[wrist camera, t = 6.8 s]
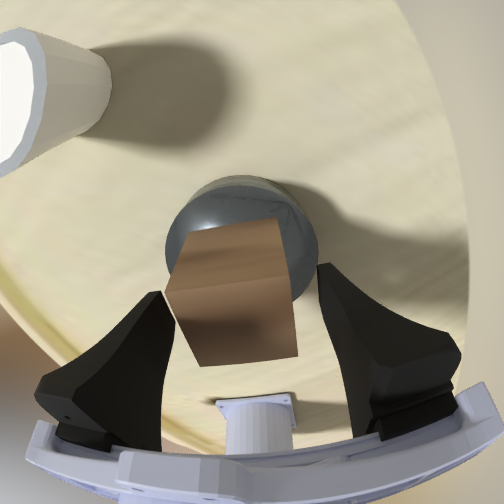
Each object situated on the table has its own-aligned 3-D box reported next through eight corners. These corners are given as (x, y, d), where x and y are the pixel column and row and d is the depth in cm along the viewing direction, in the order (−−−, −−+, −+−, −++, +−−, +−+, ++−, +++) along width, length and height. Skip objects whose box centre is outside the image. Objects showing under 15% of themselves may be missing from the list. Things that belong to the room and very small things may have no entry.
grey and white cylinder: (105, 21, 10) (32, -4, 4) (136, 113, 13) (65, 128, 7) (28, 80, 11) (-48, 92, 5) (55, 162, 14) (-17, 202, 8)
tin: (310, 280, 19) (318, 309, 17) (195, 294, 20) (188, 323, 17) (303, 162, 15) (314, 175, 13) (163, 184, 16) (146, 201, 13)
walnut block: (286, 288, 16) (298, 356, 12) (210, 299, 16) (200, 366, 12) (276, 216, 14) (289, 274, 9) (188, 231, 14) (164, 292, 10)
